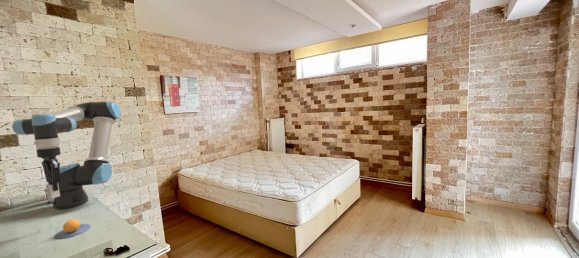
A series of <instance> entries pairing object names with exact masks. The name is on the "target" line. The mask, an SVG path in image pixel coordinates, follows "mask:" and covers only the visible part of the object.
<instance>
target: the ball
mask: <svg viewBox="0 0 579 258" xmlns="http://www.w3.org/2000/svg"><path fill="white" fill-rule="evenodd" d="M80 225H81V223H80V221H79V220H78V219H74V218H73V219H69V220H67V221H66V222H64V224H63V225H62V230H64V231H65V232H67V233H71V232H74V231H76V230H77V229H78V228H79V226H80Z"/></svg>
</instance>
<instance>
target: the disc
mask: <svg viewBox="0 0 579 258" xmlns="http://www.w3.org/2000/svg"><path fill="white" fill-rule="evenodd" d="M91 226H92V225H91V224H89V223H80V226H79V228H78V229H77V230H76V231H74V232H71V233H67V232H65V231H64V230H63V229H62V230H60V231H58V232H57V233H56V234H54V236H53V238H54V239H56V240H64V239H69V238H73V237H75V236H78V235H81V234H83V233H85V232H87V231H88V230H89V229H91Z"/></svg>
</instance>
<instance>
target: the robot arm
mask: <svg viewBox="0 0 579 258" xmlns="http://www.w3.org/2000/svg"><path fill="white" fill-rule="evenodd" d="M120 108H121V107H120V106H119V104H118V103H117V102H115V101H108V100H107V101H87V102H82V103H78V104H76V105H71V106H69V107H67V108H66V109H63V110H60V111H58V110H57V111H55V112H51V113H45V114H43V113H42V114H33V115H32V116H31V118H26V119H25V118H23V119H17V120H15V121H13V123H12V125H11V126H12V131H13V132H14V133H15V134H17V135H20V136H21V135H22V136H23V135H24V136H28V135H34V142H33V144H34V145H35V148H36V156H37V157H38V158H41V159H42V158H43V160H42V161H41V165H42V169H43V173H44V177H45V180H46V183H47V184H48V185H49V188H50V194H51V198H54V202H53V203H52V209H53V210H66V209H71V208H75V207H78V206H81V205H84V204H85V203H87V202H89V196H88V194H87V193H86V190H85V189H84V186H92V185H101V184H105V183H107V182H108V181H109V180H110V179H111V178H112V175H113V166H112V165H111V164H110V162H109V160H108V159H107V158H108V151H109V145H110V138H111V134H112V127H113V125H115V123H116V120H119V119H120V118H122V117H121V116H122V112H121V109H120ZM91 120H92V121H93V122H94V127H93V132H92V136H91V142H90V148H89V153H88V157H87V159H85V160H84V161H83V164H82V165H81V164H80V163H79V162H75V163H70V164H67V165H66V164H65V165H62V166H61V163H60V162H59V161H58V159H57V156H61V148H60V147H59V146H60V139H59V138H60V137H59V134H62V133H70V132H73V131H74V130H75V129H76V128H77V122H80V121H91Z"/></svg>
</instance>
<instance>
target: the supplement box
mask: <svg viewBox="0 0 579 258" xmlns="http://www.w3.org/2000/svg"><path fill="white" fill-rule="evenodd" d="M48 184H49V183H46V184H45V188H46V189H45V190H46V197H47V203H48V202H52V203H51V204H53V202H54V198H51V194H50V188H49V185H48Z"/></svg>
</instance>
